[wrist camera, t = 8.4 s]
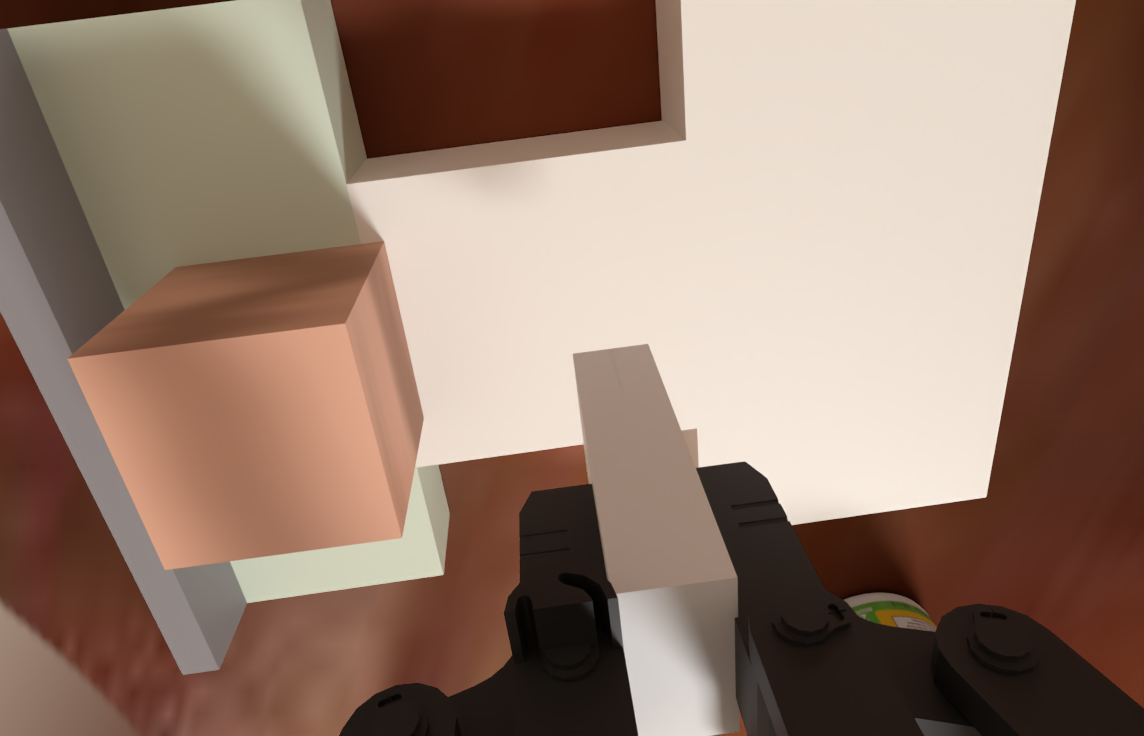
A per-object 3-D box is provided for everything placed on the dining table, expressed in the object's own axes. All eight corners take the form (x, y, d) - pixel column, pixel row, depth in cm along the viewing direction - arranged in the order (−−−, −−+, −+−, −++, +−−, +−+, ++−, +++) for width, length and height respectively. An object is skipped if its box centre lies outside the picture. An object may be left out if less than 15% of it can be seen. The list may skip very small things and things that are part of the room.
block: (383, 241, 18) (345, 323, 14) (423, 417, 20) (401, 538, 16) (175, 266, 18) (67, 358, 13) (239, 442, 20) (164, 570, 16)
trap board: (1009, -92, 19) (1191, -121, 14) (936, 445, 26) (1037, 551, 21) (38, 28, 18) (-135, 41, 13) (244, 542, 25) (182, 674, 20)
